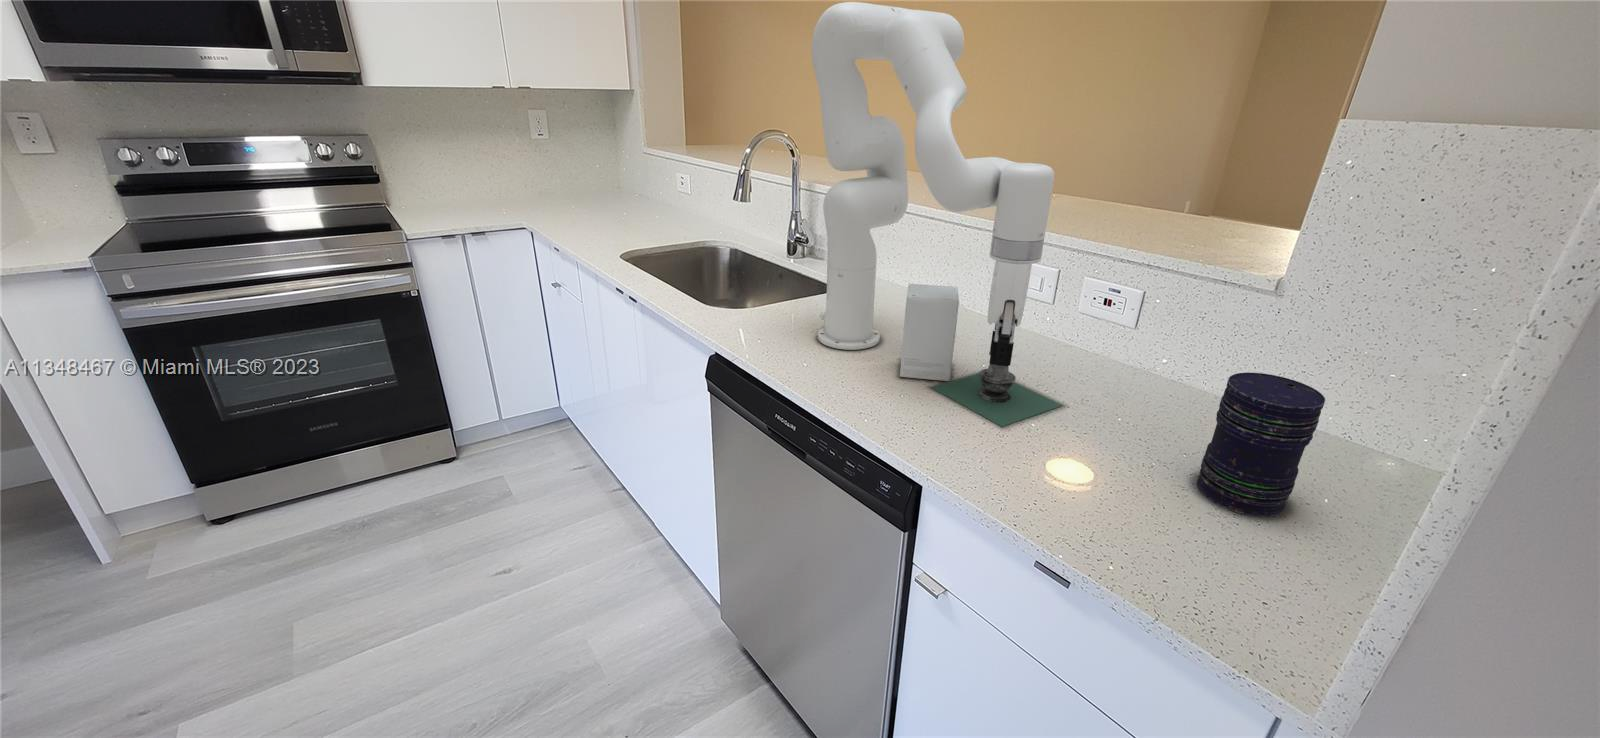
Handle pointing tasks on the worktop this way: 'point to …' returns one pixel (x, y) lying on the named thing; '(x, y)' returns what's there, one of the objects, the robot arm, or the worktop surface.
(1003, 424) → the mat
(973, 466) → the worktop surface
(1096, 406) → the worktop surface
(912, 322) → the white product box
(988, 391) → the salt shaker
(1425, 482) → the worktop surface
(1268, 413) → the storage jar
